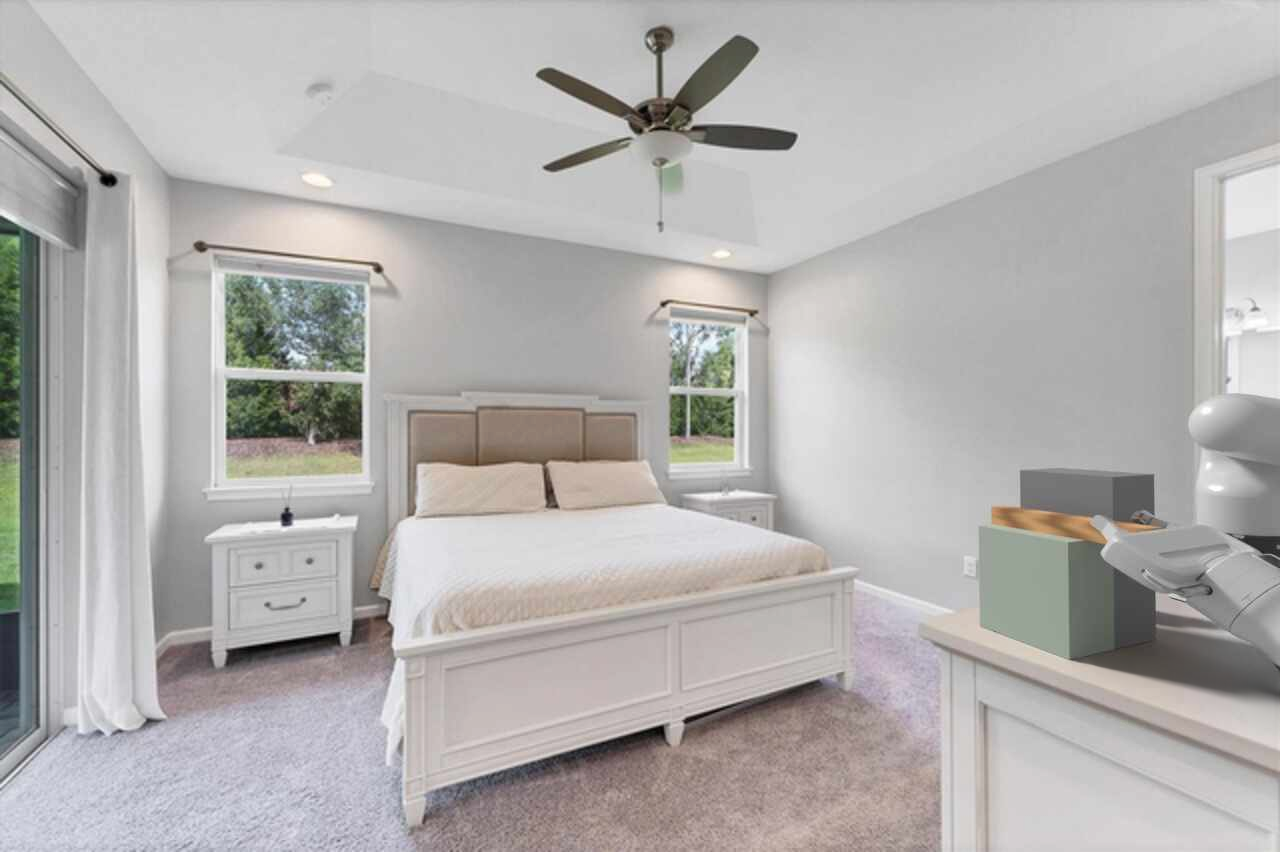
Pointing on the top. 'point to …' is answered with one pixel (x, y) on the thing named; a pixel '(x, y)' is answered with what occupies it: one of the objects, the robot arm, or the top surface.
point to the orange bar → (1057, 523)
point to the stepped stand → (1066, 568)
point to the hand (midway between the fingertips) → (1116, 516)
